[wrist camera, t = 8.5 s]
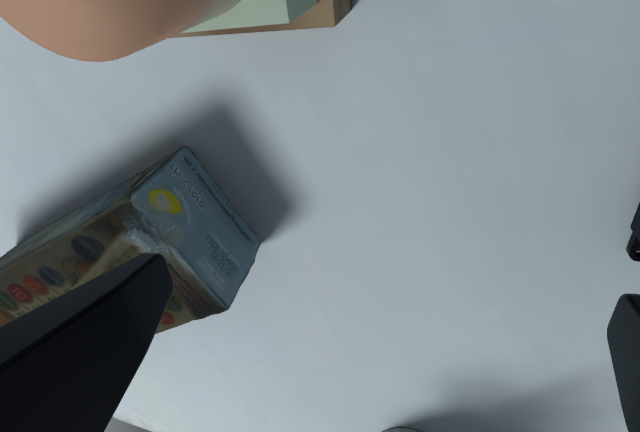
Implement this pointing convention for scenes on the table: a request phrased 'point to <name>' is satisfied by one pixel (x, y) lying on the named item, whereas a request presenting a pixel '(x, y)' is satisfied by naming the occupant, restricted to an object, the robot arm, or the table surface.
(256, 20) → the top block
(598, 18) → the table surface
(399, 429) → the house plant
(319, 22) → the base block
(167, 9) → the pink domed cylinder
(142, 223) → the beverage carton
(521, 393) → the table surface
